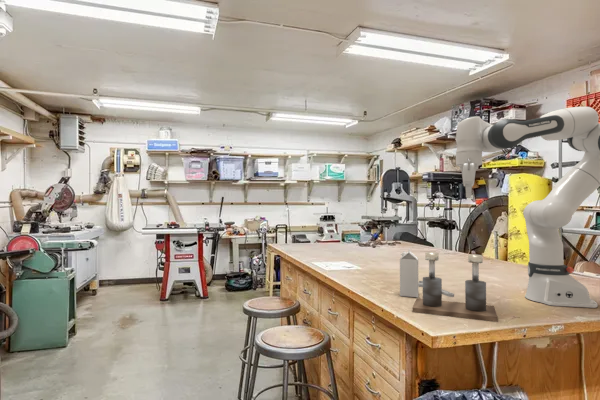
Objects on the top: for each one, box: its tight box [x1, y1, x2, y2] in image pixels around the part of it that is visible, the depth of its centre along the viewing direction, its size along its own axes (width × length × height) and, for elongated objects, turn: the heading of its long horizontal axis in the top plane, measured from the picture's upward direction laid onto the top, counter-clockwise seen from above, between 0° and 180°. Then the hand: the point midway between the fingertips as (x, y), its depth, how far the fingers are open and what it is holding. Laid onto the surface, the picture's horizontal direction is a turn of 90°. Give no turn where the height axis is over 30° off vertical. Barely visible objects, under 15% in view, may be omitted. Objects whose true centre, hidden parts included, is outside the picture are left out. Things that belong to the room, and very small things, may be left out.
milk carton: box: [399, 247, 420, 298], centre depth 148 cm, size 7×7×19 cm
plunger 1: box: [424, 251, 440, 278], centre depth 129 cm, size 4×4×9 cm
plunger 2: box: [467, 253, 484, 282], centre depth 123 cm, size 4×4×9 cm
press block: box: [411, 276, 499, 323], centre depth 126 cm, size 26×14×11 cm, turn 66°
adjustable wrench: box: [418, 280, 455, 298], centre depth 157 cm, size 25×6×2 cm, turn 10°
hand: (468, 197), depth 134 cm, fingers open, 8 cm apart
